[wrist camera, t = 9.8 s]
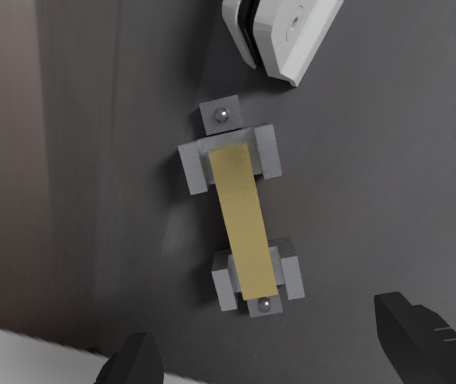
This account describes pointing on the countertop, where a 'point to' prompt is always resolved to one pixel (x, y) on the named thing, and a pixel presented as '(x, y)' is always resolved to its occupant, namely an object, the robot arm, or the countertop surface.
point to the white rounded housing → (279, 32)
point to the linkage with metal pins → (261, 163)
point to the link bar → (243, 219)
